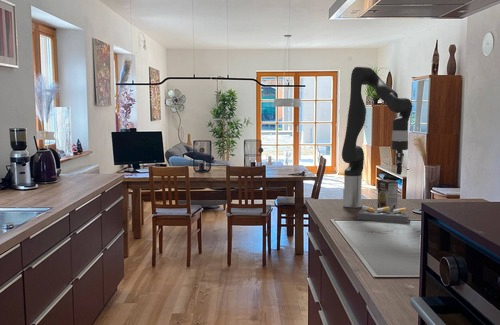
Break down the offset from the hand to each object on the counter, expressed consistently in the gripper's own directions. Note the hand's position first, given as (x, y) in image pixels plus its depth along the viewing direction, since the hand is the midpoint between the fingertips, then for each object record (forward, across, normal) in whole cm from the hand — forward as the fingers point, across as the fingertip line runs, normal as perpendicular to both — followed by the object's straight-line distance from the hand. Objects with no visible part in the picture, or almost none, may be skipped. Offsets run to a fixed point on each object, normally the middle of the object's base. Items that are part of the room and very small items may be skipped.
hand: (399, 173), depth 231 cm
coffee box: (+22, -14, -6) cm, 27 cm away
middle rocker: (+18, +5, -7) cm, 19 cm away
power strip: (+22, +7, -7) cm, 24 cm away
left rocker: (+18, +4, -14) cm, 23 cm away
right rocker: (+18, +5, +1) cm, 18 cm away
